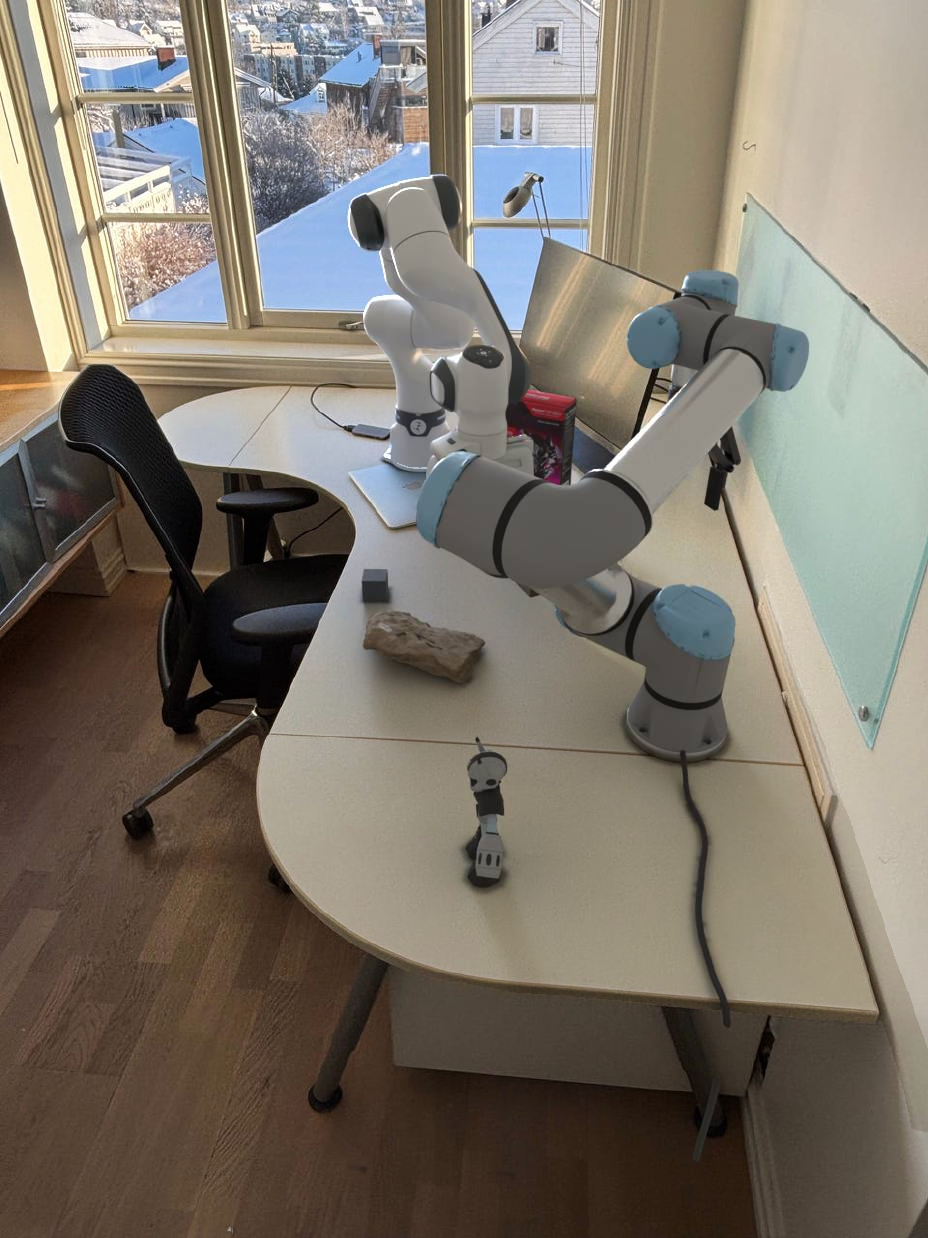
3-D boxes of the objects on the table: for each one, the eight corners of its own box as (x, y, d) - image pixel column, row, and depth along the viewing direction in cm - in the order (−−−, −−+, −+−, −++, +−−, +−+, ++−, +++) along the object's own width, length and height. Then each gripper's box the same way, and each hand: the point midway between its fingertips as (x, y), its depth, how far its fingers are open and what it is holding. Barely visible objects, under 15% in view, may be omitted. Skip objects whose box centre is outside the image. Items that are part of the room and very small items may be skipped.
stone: (339, 657, 153) (345, 625, 150) (371, 626, 166) (378, 596, 164) (457, 699, 149) (466, 667, 147) (481, 664, 163) (489, 634, 160)
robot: (509, 924, 113) (515, 806, 101) (469, 925, 112) (471, 808, 101) (496, 807, 129) (501, 695, 118) (462, 808, 129) (463, 696, 118)
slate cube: (386, 601, 173) (385, 581, 171) (362, 601, 173) (361, 581, 171) (388, 589, 177) (387, 568, 174) (365, 588, 177) (363, 568, 174)
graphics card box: (486, 512, 203) (488, 393, 188) (499, 500, 208) (503, 382, 193) (557, 530, 197) (566, 407, 181) (570, 517, 202) (579, 396, 187)
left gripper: (525, 426, 168) (522, 495, 176) (421, 444, 161) (422, 515, 168) (542, 439, 163) (537, 509, 171) (435, 458, 156) (436, 530, 164)
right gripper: (747, 365, 141) (724, 491, 153) (608, 387, 132) (595, 519, 144) (781, 380, 135) (754, 510, 147) (638, 405, 126) (622, 540, 138)
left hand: (479, 512), depth 170 cm, fingers closed on walnut bar, 4 cm apart
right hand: (676, 515), depth 146 cm, fingers open, 13 cm apart
